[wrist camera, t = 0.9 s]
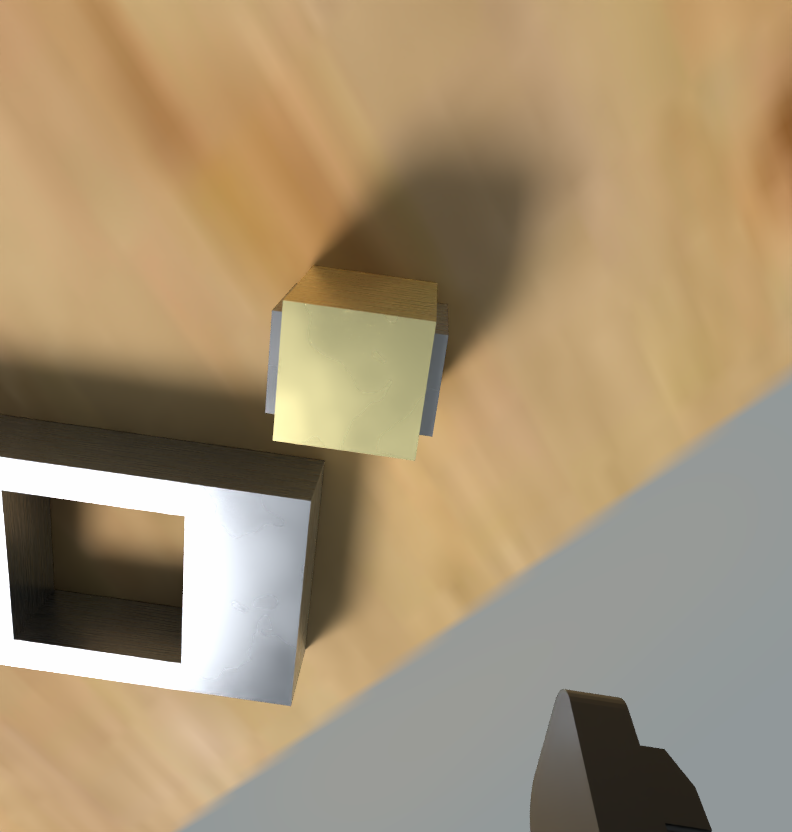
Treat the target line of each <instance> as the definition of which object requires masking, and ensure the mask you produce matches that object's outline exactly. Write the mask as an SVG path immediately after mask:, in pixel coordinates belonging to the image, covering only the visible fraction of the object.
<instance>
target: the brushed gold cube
mask: <svg viewBox="0 0 792 832" xmlns="http://www.w3.org/2000/svg"><path fill="white" fill-rule="evenodd" d="M447 342H448V307H447V304H441V303H437V283H435V282H428V281H421V280H414V279H407V278H400V277H393V276H386V275H378V274H371V273H364V272H357V271H350V270H343V269H336V268H329V267H322V266H314V265H313V267H312V268H311V269H310V270H309V271H308V272H307V273H306V275H305V276H304V277H303V278H302V279H301V280H300V281H299V283H296V284H295V285H294V286H293V287H292V289H291V290H290V291H289V292H288V293H287V294H286V295H285V296H284V298H283V299H282V300H281V301H280V302H279V303H278V304H277V305H276V307H275V308H274V309H273V310H272V319H271V334H270V349H269V364H268V378H267V393H266V408H265V413H270V414H275V417H274V430H273V441H279V442H286V443H293V444H300V445H307V446H314V447H321V448H328V449H336V450H343V451H350V452H357V453H364V454H371V455H378V456H385V457H392V458H399V459H406V460H413V461H415V458H416V451H417V445H418V438H419V435H425V436H432V435H433V428H434V422H435V416H436V410H437V404H438V397H439V391H440V385H441V379H442V373H443V366H444V360H445V354H446V348H447Z"/></svg>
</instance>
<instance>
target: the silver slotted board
mask: <svg viewBox="0 0 792 832" xmlns="http://www.w3.org/2000/svg"><path fill="white" fill-rule="evenodd" d="M324 462H325V461H324V460H317V459H310V458H302V457H295V456H288V455H281V454H274V453H267V452H260V451H253V450H246V449H239V448H232V447H225V446H218V445H211V444H204V443H197V442H190V441H183V440H175V439H168V438H161V437H154V436H147V435H140V434H133V433H126V432H119V431H112V430H105V429H98V428H91V427H84V426H77V425H70V424H63V423H56V422H49V421H41V420H34V419H27V418H20V417H13V416H6V415H0V664H1V665H8V666H15V667H22V668H29V669H36V670H43V671H50V672H57V673H64V674H71V675H78V676H85V677H92V678H99V679H106V680H113V681H120V682H127V683H134V684H141V685H148V686H155V687H162V688H169V689H176V690H183V691H190V692H197V693H204V694H211V695H218V696H225V697H232V698H239V699H246V700H253V701H260V702H267V703H274V704H281V705H287V706H291V704H292V700H293V696H294V692H295V688H296V684H297V680H298V676H299V673H300V669H301V665H302V661H303V657H304V653H305V647H306V637H307V628H308V618H309V608H310V598H311V589H312V579H313V569H314V560H315V550H316V540H317V530H318V521H319V511H320V501H321V492H322V482H323V472H324ZM50 497H54V498H61V499H68V500H75V501H82V502H89V503H96V504H103V505H110V506H117V507H124V508H131V509H138V510H145V511H152V512H159V513H166V514H173V515H180V516H185V536H184V576H183V608H179V607H172V606H165V605H158V604H151V603H144V602H137V601H130V600H123V599H116V598H109V597H102V596H95V595H88V594H81V593H74V592H67V591H60V590H55V589H54V571H53V552H52V533H51V514H50Z"/></svg>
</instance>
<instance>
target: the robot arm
mask: <svg viewBox="0 0 792 832" xmlns="http://www.w3.org/2000/svg"><path fill="white" fill-rule="evenodd" d="M530 831H531V832H711V831H712V829H711V827H710V824H709V822H708V819H707V816H706V814H705V811H704V809H703V806H702V804H701V801H700V798H699V796H698V793H697V791H696V788H695V786H694V785H693V784H692V783H691V782H690V780H689V779H688V778H687V777H686V775H685V774H684V773H683V772H682V770H680V768H679V767H678V765H677V764H676V763H675V762H674V761H673V759H672V758H671V757H670V756H669V754H668V753H667V752H666V751H665V749H659V748H653V747H646V746H640V744H639V741H638V738H637V735H636V732H635V729H634V726H633V723H632V719H631V716H630V713H629V710H628V707H627V705H626V703H625V701H624V700H623V699H622V698H618V697H611V696H605V695H599V694H592V693H585V692H579V691H572V690H566V689H562V690H561V691H560V692H559V693H558V695H557V697H556V700H555V703H554V707H553V710H552V714H551V718H550V721H549V725H548V729H547V733H546V736H545V740H544V743H543V747H542V750H541V754H540V758H539V761H538V765H537V769H536V772H535V776H534V780H533V785H532V792H531V802H530Z"/></svg>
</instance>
